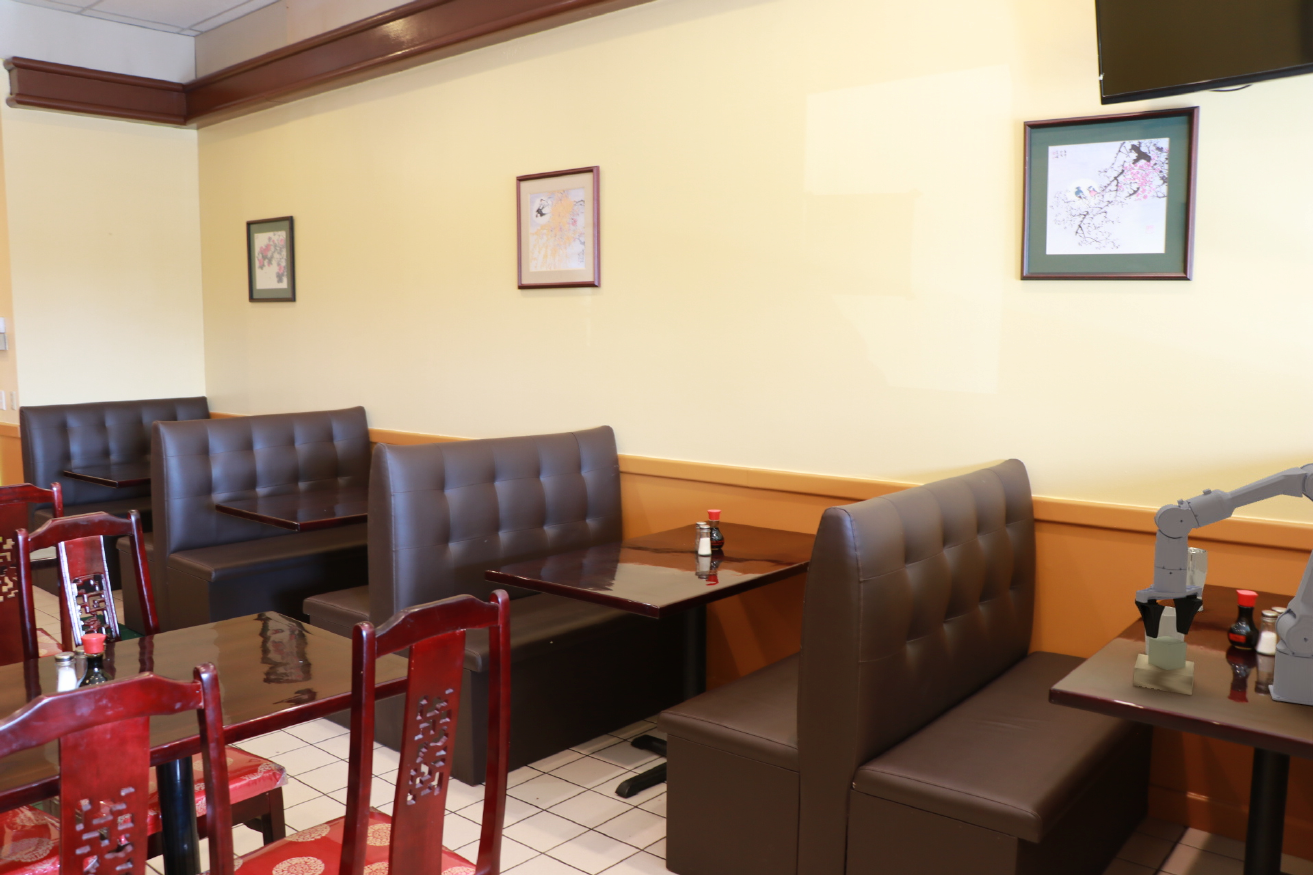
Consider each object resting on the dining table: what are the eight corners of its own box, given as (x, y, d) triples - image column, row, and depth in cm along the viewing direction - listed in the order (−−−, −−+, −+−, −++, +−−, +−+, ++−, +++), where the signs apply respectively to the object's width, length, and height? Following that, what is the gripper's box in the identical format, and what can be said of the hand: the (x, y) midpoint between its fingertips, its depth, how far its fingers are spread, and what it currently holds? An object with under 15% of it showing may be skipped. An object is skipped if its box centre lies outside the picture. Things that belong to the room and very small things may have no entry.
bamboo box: (1193, 681, 196) (1194, 661, 196) (1191, 696, 188) (1192, 676, 188) (1137, 672, 201) (1138, 653, 201) (1133, 687, 193) (1134, 667, 192)
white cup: (1185, 654, 212) (1187, 609, 211) (1183, 664, 205) (1185, 617, 204) (1144, 648, 216) (1146, 603, 215) (1141, 658, 209) (1143, 612, 208)
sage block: (1166, 660, 197) (1167, 635, 196) (1185, 667, 193) (1186, 642, 192) (1148, 662, 195) (1149, 637, 195) (1166, 670, 191) (1168, 644, 191)
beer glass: (1176, 610, 246) (1179, 551, 245) (1170, 603, 253) (1174, 546, 252) (1207, 613, 244) (1211, 553, 243) (1201, 606, 251) (1204, 547, 250)
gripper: (1182, 559, 198) (1179, 626, 200) (1125, 564, 194) (1121, 632, 195) (1212, 567, 192) (1208, 635, 193) (1153, 572, 187) (1150, 642, 188)
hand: (1167, 635), depth 194 cm, fingers open, 7 cm apart
